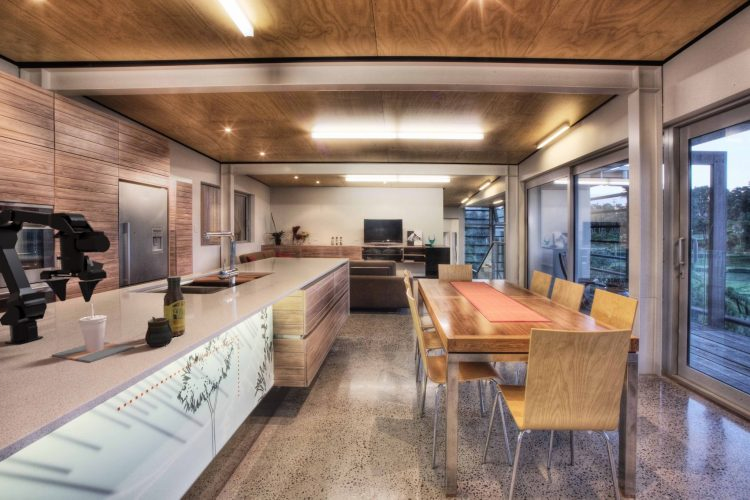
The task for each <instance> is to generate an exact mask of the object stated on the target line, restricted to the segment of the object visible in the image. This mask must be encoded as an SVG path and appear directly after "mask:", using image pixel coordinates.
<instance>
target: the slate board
mask: <svg viewBox="0 0 750 500" xmlns="http://www.w3.org/2000/svg"><path fill="white" fill-rule="evenodd" d="M135 348H136V347H135V346H134V345H127V344H126V345H125V344H121V343H120V344H119V343H114V342H106V341H104V345H103V349H102V350H100V351H96V352H87V350H86V345H85V344H84V345H81V346H77V347H73V348H70V349H66V350H63V351H59V352H56V353H53V354H51V356H52V357H57V358H63V359H69V360H73V361H78V362H79V361H80V362H84V363H90V364H91V363H93V362H94V363H95V362H97V361H99V360H101V359H105V358H109V357H111V356H115V355H118V354H120V353H122V352H126V351H129V350H132V349H135Z"/></svg>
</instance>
